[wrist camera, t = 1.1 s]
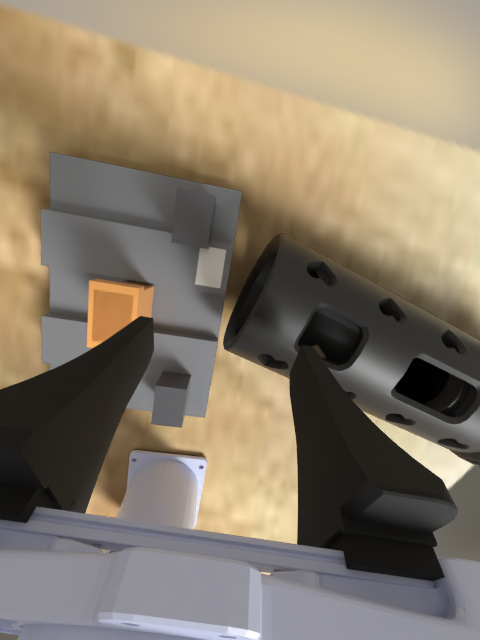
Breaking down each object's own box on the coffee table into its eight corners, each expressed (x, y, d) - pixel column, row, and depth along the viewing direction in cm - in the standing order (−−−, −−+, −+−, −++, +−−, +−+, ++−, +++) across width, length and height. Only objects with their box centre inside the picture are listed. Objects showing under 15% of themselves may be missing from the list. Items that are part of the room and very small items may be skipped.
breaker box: (206, 405, 27) (201, 443, 21) (62, 387, 25) (19, 423, 20) (240, 196, 22) (245, 179, 17) (66, 161, 21) (11, 129, 15)
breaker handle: (153, 331, 22) (133, 353, 17) (117, 326, 22) (86, 347, 17) (158, 280, 21) (139, 288, 16) (120, 274, 21) (89, 280, 16)
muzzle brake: (268, 233, 23) (301, 219, 13) (501, 359, 28) (659, 420, 18) (221, 327, 25) (219, 377, 15) (447, 431, 29) (561, 522, 19)
